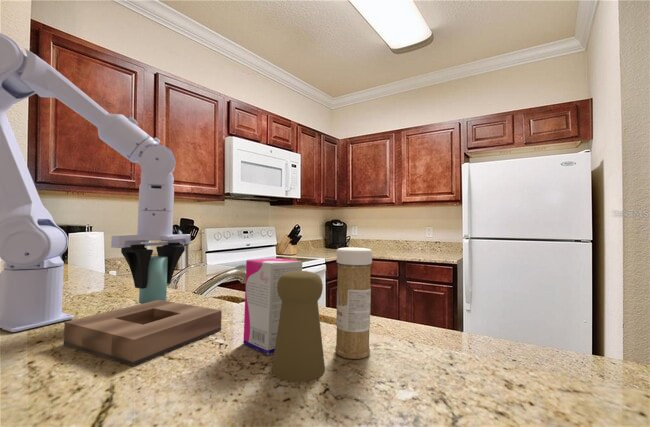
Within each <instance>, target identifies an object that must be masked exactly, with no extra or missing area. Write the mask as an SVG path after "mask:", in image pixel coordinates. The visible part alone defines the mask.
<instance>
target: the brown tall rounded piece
mask: <svg viewBox="0 0 650 427" xmlns="http://www.w3.org/2000/svg"><path fill="white" fill-rule="evenodd" d="M323 286H324V285H323V279H322V278H321V276H320V275H319V274H317V273H316V272H312V271H307V270H302V271H292V272H288V273H285V274H283V275H282V276H281V277H280V279H279V280H278V284H277V291H278V295H279V297H280V299H281V300H282V305H281V311H280V318H279V325H278V331H277V338H276V345H275V351H274V353H273V360H272V366H271V373H272V375H273V376H275V378H277V379H280V381H281V380H282V381H285V382H286V381H287V382H292V383H303V382H309V381H312V380H313V381H314V380H316V379H318V378H319V377H321V376H323V374H325V372H326V365H325V355H324V346H323V338H322V337H323V336H322V331H321V330H322V328H321V321H320V313H319V312H320V311H319V300H320V299H321V297H322V294H323V289H324V287H323Z"/></svg>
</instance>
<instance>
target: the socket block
mask: <svg viewBox="0 0 650 427" xmlns="http://www.w3.org/2000/svg"><path fill="white" fill-rule="evenodd" d="M222 311H223V310H221V309H216V308H210V307H204V306H198V305H191V304H185V303H179V302H173V301H169V300H166V301H162V300H156V301H152V302H148V303H143V304H140V303H138V304H136V305H135V304H134V305H131V306H128V307H122V308H118V309H114V310H111V311H105V312H102V313H97V314H93V315H90V316H84V317H80V318H76V319H70V320H66V321H64V324H63V325H64V326H63V327H64V329H63V346H65V347H69V348H73V349H75V350H79V351H81V352H85V353H88V354H91V355H94V356H98V357H102V358H105V359H108V360H111V361H114V362H117V363H122V364H124V365H127V366H131V367H134V366H137V365H140V364H142V363H145V362H147V361H149V360H152V359H154V358H157V357H159V356H162V355H164V354H167V353H169V352H171V351H174V350H177V349H178V348H181V347H184V346H186V345H188V344H191V343H193V342H196V341H198V340H201V339H203V338H206V337H208V336H210V335H213V334H215V333H217V332H221V330H222V317H223V316H222V313H223V312H222Z"/></svg>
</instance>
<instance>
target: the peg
mask: <svg viewBox="0 0 650 427" xmlns="http://www.w3.org/2000/svg"><path fill="white" fill-rule="evenodd" d="M167 265H168V257H166V256H158V255H151V259H150V262H149V267H148V280H147V286H146V288H144V289H141V288H138V290H139V291H138V292H139V293H138V294H139V295H138V304H143V303H148V302H152V301H156V300H162V301H167V293H168V292H167V291H168V290H167V286H168V284H167Z"/></svg>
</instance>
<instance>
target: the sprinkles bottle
mask: <svg viewBox="0 0 650 427" xmlns="http://www.w3.org/2000/svg"><path fill="white" fill-rule="evenodd" d="M336 263H337V290H336V315H335V316H336V319H335V320H336V322H335V323H336V324H335V325H336V336H335V337H336V339H335V340H336V341H335V342H336V343H335V348H334V351H335V353H336V355H337V356H339V357H341V358H345V359H349V360H350V359H353V360H354V359H357V360H359V359H364V358H367V357H368V356H369V355H370V354H371V349H370V329H371V301H372V300H371V297H372V296H371V295H372V294H371V290H372V289H371V268H372V264H373V250H372V249H371V248H366V247H356V246H355V247H352V246H350V247H340V248H337V249H336Z"/></svg>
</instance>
